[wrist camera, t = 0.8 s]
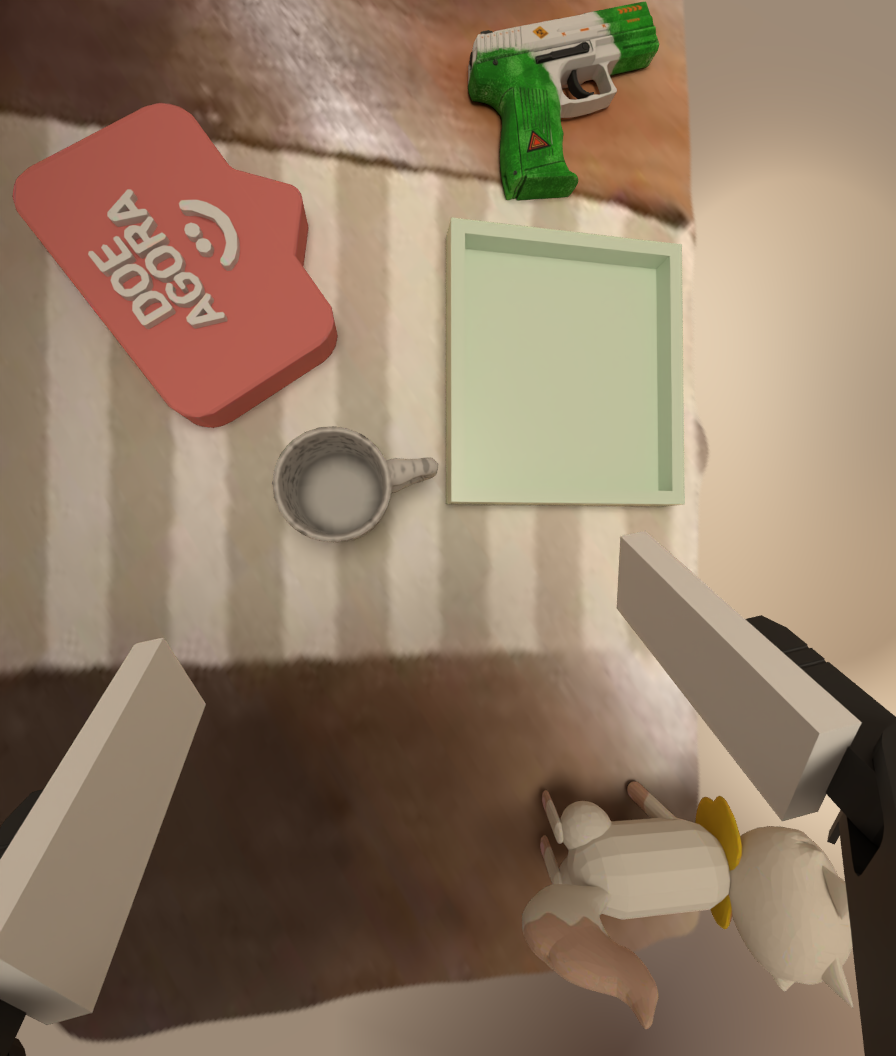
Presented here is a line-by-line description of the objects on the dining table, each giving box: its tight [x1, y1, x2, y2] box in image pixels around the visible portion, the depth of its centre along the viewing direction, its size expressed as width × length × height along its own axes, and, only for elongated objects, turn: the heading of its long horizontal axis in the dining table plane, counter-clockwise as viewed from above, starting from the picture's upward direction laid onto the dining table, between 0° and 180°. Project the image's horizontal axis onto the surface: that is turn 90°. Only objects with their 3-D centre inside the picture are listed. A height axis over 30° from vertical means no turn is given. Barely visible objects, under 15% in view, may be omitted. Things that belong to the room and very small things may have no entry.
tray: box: [446, 218, 685, 506], centre depth 34 cm, size 20×18×2 cm
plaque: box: [12, 103, 337, 428], centre depth 30 cm, size 18×4×15 cm
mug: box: [272, 426, 438, 542], centre depth 29 cm, size 10×7×7 cm, turn 104°
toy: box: [522, 782, 853, 1029], centre depth 28 cm, size 9×19×15 cm, turn 88°
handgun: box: [468, 2, 659, 200], centre depth 35 cm, size 3×16×12 cm
